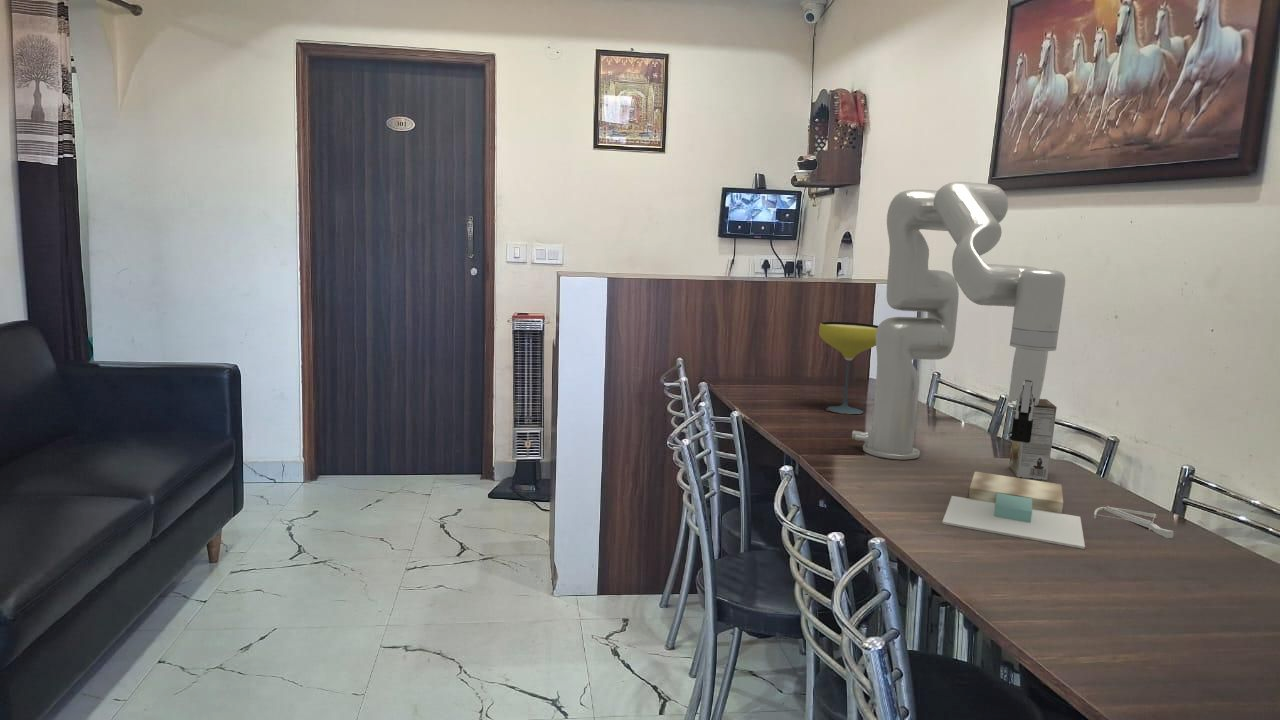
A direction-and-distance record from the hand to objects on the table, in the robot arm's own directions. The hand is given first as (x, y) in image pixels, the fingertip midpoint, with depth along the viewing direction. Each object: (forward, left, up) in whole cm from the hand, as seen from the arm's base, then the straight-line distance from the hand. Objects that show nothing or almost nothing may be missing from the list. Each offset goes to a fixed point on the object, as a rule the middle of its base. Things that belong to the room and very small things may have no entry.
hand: (1020, 440), depth 153 cm
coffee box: (+2, +35, -14) cm, 37 cm away
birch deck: (0, +12, -14) cm, 18 cm away
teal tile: (0, 0, -13) cm, 13 cm away
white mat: (0, -4, -14) cm, 14 cm away
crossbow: (+20, +8, -15) cm, 26 cm away
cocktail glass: (-47, +80, -14) cm, 93 cm away
